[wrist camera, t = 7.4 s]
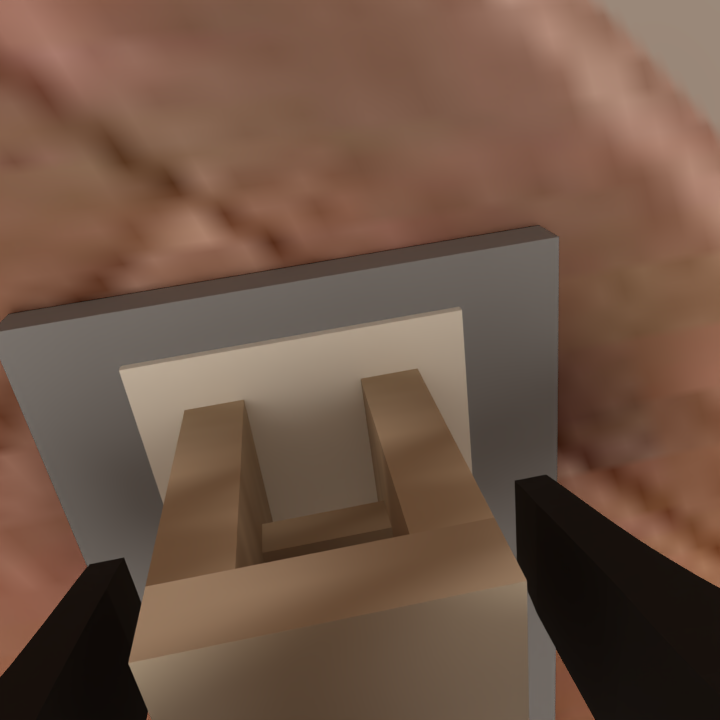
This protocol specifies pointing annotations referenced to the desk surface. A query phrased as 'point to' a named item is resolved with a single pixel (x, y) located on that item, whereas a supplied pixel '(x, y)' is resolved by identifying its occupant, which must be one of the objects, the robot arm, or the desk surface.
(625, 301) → the desk surface
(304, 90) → the desk surface
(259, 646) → the tan u-shaped block
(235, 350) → the board
